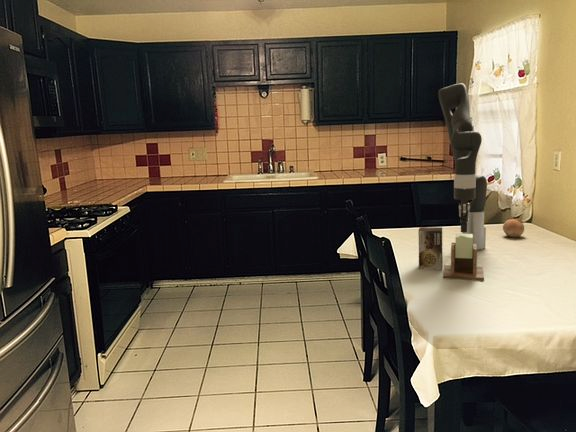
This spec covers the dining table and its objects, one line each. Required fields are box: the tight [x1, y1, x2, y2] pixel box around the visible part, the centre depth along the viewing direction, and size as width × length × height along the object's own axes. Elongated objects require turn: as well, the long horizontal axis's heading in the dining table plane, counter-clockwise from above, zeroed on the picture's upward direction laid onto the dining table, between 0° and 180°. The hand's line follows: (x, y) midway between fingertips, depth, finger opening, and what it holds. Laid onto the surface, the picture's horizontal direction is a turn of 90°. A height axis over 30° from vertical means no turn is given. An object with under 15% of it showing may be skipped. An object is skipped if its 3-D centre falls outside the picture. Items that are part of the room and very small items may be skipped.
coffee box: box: [417, 226, 444, 271], centre depth 190 cm, size 9×6×16 cm
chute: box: [443, 242, 485, 281], centre depth 181 cm, size 14×14×11 cm
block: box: [454, 233, 473, 259], centre depth 180 cm, size 6×6×8 cm
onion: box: [502, 218, 525, 238], centre depth 233 cm, size 10×9×10 cm
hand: (463, 232), depth 179 cm, fingers closed
